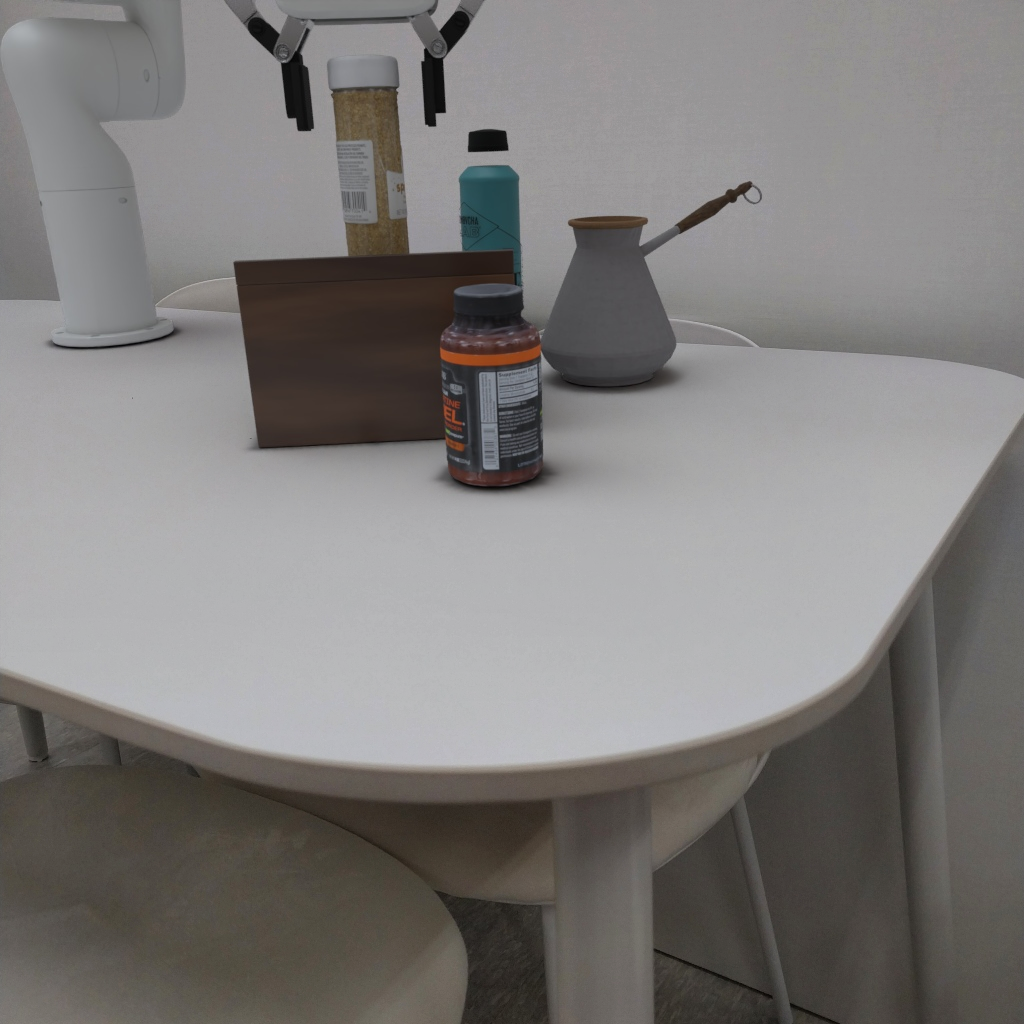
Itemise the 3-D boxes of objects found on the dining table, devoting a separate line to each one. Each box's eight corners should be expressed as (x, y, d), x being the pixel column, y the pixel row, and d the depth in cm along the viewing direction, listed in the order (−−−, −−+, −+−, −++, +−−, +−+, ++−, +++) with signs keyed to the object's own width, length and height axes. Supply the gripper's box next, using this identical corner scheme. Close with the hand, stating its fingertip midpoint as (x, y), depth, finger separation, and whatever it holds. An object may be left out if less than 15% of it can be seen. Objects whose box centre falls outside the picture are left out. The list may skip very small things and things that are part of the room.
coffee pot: (588, 400, 75) (587, 197, 70) (515, 373, 84) (509, 192, 79) (792, 362, 85) (805, 182, 79) (706, 342, 94) (712, 179, 89)
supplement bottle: (434, 467, 61) (421, 286, 57) (520, 453, 63) (514, 277, 59) (468, 496, 56) (457, 299, 52) (560, 480, 58) (556, 289, 54)
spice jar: (424, 269, 66) (410, 54, 62) (363, 276, 64) (343, 53, 59) (393, 264, 70) (378, 59, 65) (335, 270, 68) (314, 59, 63)
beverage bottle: (488, 320, 109) (480, 129, 101) (537, 325, 105) (532, 127, 98) (451, 330, 104) (440, 130, 97) (501, 336, 100) (493, 128, 93)
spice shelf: (293, 390, 81) (274, 237, 77) (506, 380, 82) (501, 227, 78) (258, 448, 66) (232, 261, 62) (519, 434, 67) (513, 249, 63)
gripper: (487, -176, 61) (497, 124, 68) (208, -170, 60) (246, 133, 67) (492, -216, 54) (503, 123, 61) (177, -209, 53) (222, 133, 60)
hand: (368, 127), depth 64 cm, fingers open, 7 cm apart
